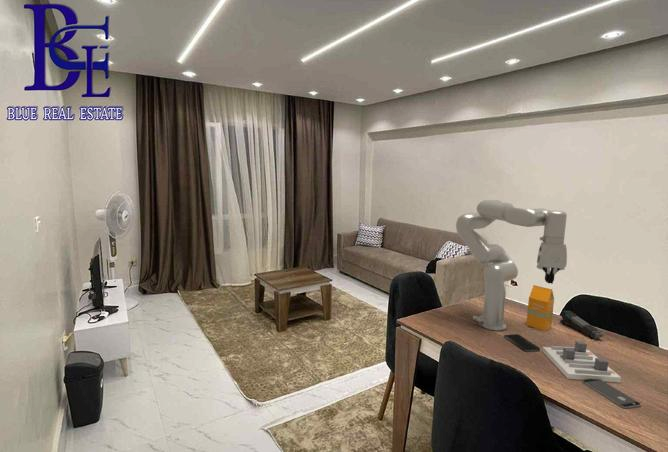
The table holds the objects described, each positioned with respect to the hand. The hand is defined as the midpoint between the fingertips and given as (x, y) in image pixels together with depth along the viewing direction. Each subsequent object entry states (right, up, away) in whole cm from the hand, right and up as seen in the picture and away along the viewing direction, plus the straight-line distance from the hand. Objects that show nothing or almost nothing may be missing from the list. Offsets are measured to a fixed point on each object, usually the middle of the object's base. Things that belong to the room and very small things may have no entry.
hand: (549, 282), depth 154 cm
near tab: (+8, -30, -19) cm, 36 cm away
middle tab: (+1, -29, -11) cm, 31 cm away
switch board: (+5, -31, -11) cm, 33 cm away
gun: (+27, -27, +21) cm, 44 cm away
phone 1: (-8, -29, +7) cm, 31 cm away
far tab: (+10, -28, -5) cm, 30 cm away
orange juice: (+10, -26, +26) cm, 38 cm away
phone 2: (+4, -34, -29) cm, 45 cm away
